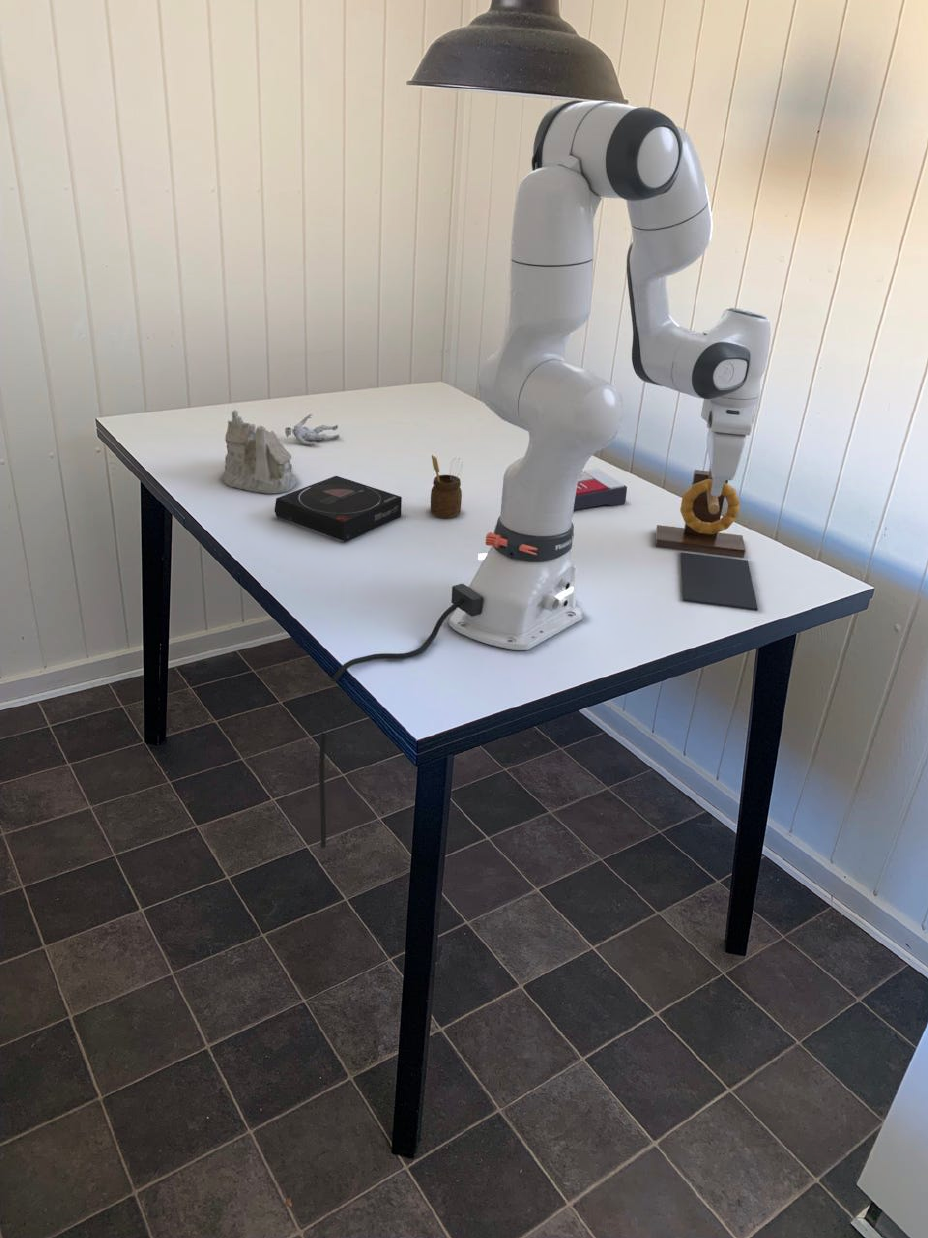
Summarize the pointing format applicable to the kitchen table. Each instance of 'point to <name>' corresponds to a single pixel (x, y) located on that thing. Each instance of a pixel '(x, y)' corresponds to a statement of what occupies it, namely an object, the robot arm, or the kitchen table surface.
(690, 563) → the mat
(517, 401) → the robot arm
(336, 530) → the portable cd player
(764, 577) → the kitchen table surface
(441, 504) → the utensil holder
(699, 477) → the rack
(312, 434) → the soldier figure
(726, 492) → the ring
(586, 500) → the calculator
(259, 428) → the ceramic cottage
